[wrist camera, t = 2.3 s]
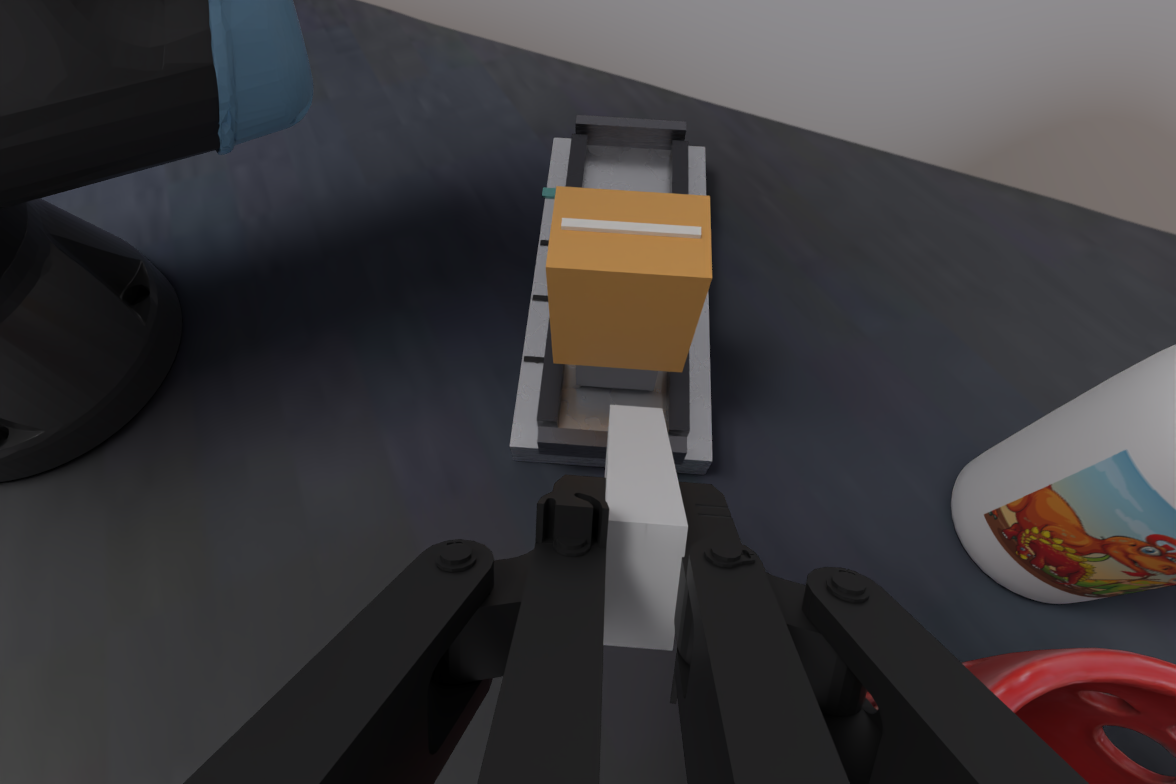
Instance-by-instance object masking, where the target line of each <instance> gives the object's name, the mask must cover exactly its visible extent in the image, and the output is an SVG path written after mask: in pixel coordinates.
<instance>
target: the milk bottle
mask: <svg viewBox="0 0 1176 784" xmlns="http://www.w3.org/2000/svg"><path fill="white" fill-rule="evenodd" d="M951 513H952V520H953V523H954V527H955V531H956V533H957V535H958V537H959V539H960V541H961V544H962V546H963V547H964V549H965V550H966V551H967V553H968V554H969V556H970V557H971V559H972V560H973V561H974V562H975V563H976V564H977V565H978V566H979V567H980V568H981V570H982V571H983V572H984V573H986V574H987V575H988V576H989V577H991V578H992V579H993V580H994V581H996V582H997V583H998V584H1000V585H1002V586H1004V587H1005V588H1007V589H1009V590H1010V591H1012V592H1014V593H1017V594H1019V595H1022V596H1024V597H1026V598H1029V599H1032V600H1035V601H1040V602H1044V603H1051V604H1068V603H1076V602H1083V601H1090V600H1095V599H1101V598H1107V597H1112V596H1118V595H1124V594H1129V593H1135V592H1140V591H1146V590H1151V589H1157V588H1162V587H1168V586H1173V585H1176V345H1173V346H1171V347H1169V348H1166V349H1164V350H1162V351H1160V352H1158V353H1156V354H1154V355H1152V356H1150V357H1148V358H1147V359H1145V360H1143V361H1141V362H1139V363H1137V364H1135V365H1133V366H1131V367H1130V368H1128V369H1126V370H1124V371H1122V372H1120V373H1118V374H1116V375H1115V376H1113V377H1111V378H1109V379H1108V380H1106V381H1104V382H1102V383H1101V384H1099V385H1097V386H1096V387H1094V388H1092V389H1090V390H1089V391H1087V392H1085V393H1083V394H1082V395H1080V396H1078V397H1077V398H1075V399H1073V400H1071V401H1070V402H1068V403H1066V404H1064V405H1063V406H1061V407H1059V408H1058V409H1056V410H1054V411H1052V412H1051V413H1049V414H1047V415H1046V416H1044V417H1042V418H1041V419H1039V420H1037V421H1036V422H1034V423H1032V424H1030V425H1029V426H1027V427H1025V428H1024V429H1022V430H1020V431H1019V432H1017V433H1015V434H1014V435H1012V436H1010V437H1009V438H1007V439H1005V440H1004V441H1002V442H1000V443H999V444H997V445H995V446H994V447H992V448H990V449H989V450H987V451H985V452H984V453H982V454H981V455H979V456H978V457H976V458H975V459H973V460H972V461H970V462H969V463H968V464H967V465H966V466H965V467H964V468H963V469H962V471H961V472H960V474H959V475H958V477H957V479H956V481H955V485H954V488H953V491H952V499H951Z"/></svg>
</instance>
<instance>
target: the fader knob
mask: <svg viewBox="0 0 1176 784" xmlns="http://www.w3.org/2000/svg"><path fill="white" fill-rule="evenodd" d="M546 278H547V291H548V303H549V316H550V328H551V341H552V353H553V363H555V364H569V365H576V385H579V386H593V387H607V388H621V389H635V390H649V391H654V387H655V383H656V379H657V375H658V371H668V372H682V371H683V368H684V365H685V362H686V359H687V355H688V352H689V349H690V346H691V343H692V340H693V337H694V334H695V330H696V327H697V324H698V321H699V318H700V315H701V312H702V308H703V305H704V302H705V299H706V296H707V293H708V290H709V287H710V283H711V280H712V253H711V216H710V196H704V195H689V194H673V193H657V192H641V191H626V190H610V189H594V188H579V187H563V186H556V193H555V200H554V208H553V215H552V223H551V230H550V238H549V245H548V253H547V260H546Z"/></svg>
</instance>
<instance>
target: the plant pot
mask: <svg viewBox="0 0 1176 784" xmlns="http://www.w3.org/2000/svg"><path fill="white" fill-rule="evenodd" d="M962 664H963V665H964V666H965V667H966V668H967V669H968V670H969V671H970V672H972V673H973V674H974V675H975V676H976V677H977V678H978V679H979V680H980V681H981V682H982V683H983V684H984V685H985V686H986V687H987V688H988V689H989V690H991V691H992V692H993V693H994V694H995V695H996V696H997V697H998V698H999V699H1000V700H1001V701H1002V702H1003V703H1004V704H1005V705H1006V706H1007V707H1009V708H1010V709H1011V710H1012V711H1013V712H1014V713H1015V714H1016V715H1017V716H1018V717H1019V718H1020V719H1021V720H1022V721H1023V722H1024V723H1025V724H1027V725H1028V726H1029V727H1030V728H1031V729H1032V730H1033V731H1034V732H1035V733H1036V734H1037V735H1038V736H1039V737H1040V738H1041V739H1042V740H1043V741H1044V742H1046V743H1047V744H1048V745H1049V746H1050V747H1051V748H1052V749H1053V750H1054V751H1055V752H1056V753H1057V754H1058V755H1059V756H1060V757H1061V758H1062V759H1064V760H1065V761H1066V762H1067V763H1068V764H1069V765H1070V766H1071V767H1072V768H1073V769H1074V770H1075V771H1076V772H1077V773H1078V774H1079V775H1080V776H1081V777H1083V778H1084V779H1085V780H1086V781H1087V782H1088V783H1089V784H1176V777H1171V776H1164V775H1160V774H1158V773H1155V772H1152V771H1149V770H1148V769H1146V768H1144V767H1142V766H1140V765H1139V764H1137V763H1136V762H1134V761H1133V760H1131V759H1130V758H1128V757H1127V756H1126V755H1125V754H1124V753H1123V752H1121V751H1120V750H1119V749H1118V748H1116V747H1115V746H1114V745H1113V744H1112V743H1111V741H1110V740H1109V739H1108V737H1107V736H1106V735H1105V733H1104V731H1103V728H1102V726H1105V725H1111V726H1120V727H1124V728H1129V729H1132V730H1135V731H1137V732H1139V733H1141V734H1144V735H1146V736H1148V737H1149V738H1151V739H1153V740H1154V741H1156V742H1157V743H1159V744H1161V745H1162V746H1163V747H1164V748H1165V749H1166V750H1167V751H1168V752H1170V753H1171V754H1172V755H1173V756H1174V757H1175V758H1176V665H1175V664H1173V663H1170V662H1167V661H1164V660H1160V659H1157V658H1154V657H1150V656H1145V655H1141V654H1137V653H1133V652H1128V651H1121V650H1112V649H1103V648H1069V649H1050V650H1035V651H1025V652H1016V653H1008V654H1002V655H997V656H991V657H986V658H981V659H977V660H972V661H967V662H962ZM1102 692H1103V693H1102ZM1106 693H1109V694H1112V695H1109V694H1106ZM1113 695H1114V696H1113ZM866 698H867V699H868V700H869V702H870V703H871V704H872V706H873V707H874V708H875V709H877V710H878V706H877V704H876V702H875V701H874V699H873V697H872V696H871V695H870V693H869V692H868V691H867V693H866Z"/></svg>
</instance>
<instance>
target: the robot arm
mask: <svg viewBox="0 0 1176 784" xmlns="http://www.w3.org/2000/svg"><path fill="white" fill-rule="evenodd" d="M312 98H313V79H312V74H311V69H310V65H309V60H308V56H307V52H306V48H305V44H304V40H303V36H302V32H301V28H300V25H299V21H298V17H297V14H296V10H295V6H294V3H293V0H0V482H4V481H10V480H15V479H20V478H24V477H28V476H32V475H35V474H38V473H42V472H44V471H47V470H50V469H52V468H55V467H57V466H60V465H62V464H64V463H67V462H69V461H71V460H73V459H75V458H77V457H79V456H80V455H82V454H84V453H86V452H88V451H89V450H91V449H93V448H94V447H96V446H97V445H99V444H101V443H102V442H103V441H105V440H106V439H108V438H109V437H110V436H112V435H113V434H114V433H116V432H117V431H118V430H120V429H121V428H122V427H123V426H124V425H125V424H127V423H128V422H129V421H130V420H131V419H132V418H133V417H134V416H135V415H136V414H137V413H138V412H139V411H140V410H141V409H142V408H143V407H144V406H145V405H146V403H147V402H148V401H149V400H150V399H151V397H152V396H153V395H154V394H155V392H156V391H157V389H158V388H159V387H160V385H161V384H162V382H163V380H164V379H165V377H166V375H167V374H168V372H169V370H170V368H171V366H172V364H173V361H174V359H175V356H176V354H177V350H178V347H179V344H180V339H181V332H182V312H181V307H180V303H179V300H178V297H177V294H176V292H175V290H174V288H173V287H172V285H171V284H170V282H169V281H168V280H167V279H166V277H165V276H164V275H163V274H162V273H161V272H160V271H159V270H158V269H157V268H156V267H155V266H154V265H153V264H152V263H151V262H150V261H149V260H148V259H147V258H146V257H145V256H144V255H143V254H142V253H140V252H139V251H138V250H137V249H135V248H134V247H133V246H131V245H130V244H128V243H127V242H126V241H124V240H122V239H120V238H119V237H117V236H115V235H113V234H111V233H109V232H107V231H105V230H103V229H101V228H99V227H97V226H95V225H93V224H91V223H89V222H87V221H84V220H82V219H80V218H78V217H76V216H74V215H72V214H70V213H68V212H66V211H64V210H62V209H60V208H58V207H56V206H54V205H52V204H50V203H48V202H46V201H44V200H42V199H40V198H43V197H46V196H50V195H53V194H57V193H61V192H64V191H68V190H72V189H75V188H79V187H83V186H86V185H90V184H94V183H97V182H101V181H104V180H108V179H112V178H115V177H119V176H123V175H126V174H130V173H134V172H137V171H141V170H144V169H148V168H152V167H155V166H159V165H163V164H166V163H170V162H174V161H177V160H181V159H184V158H188V157H192V156H195V155H199V154H203V153H206V152H210V151H214V150H216V151H217V153H218V154H219V155H224V154H227V153H229V152H231V151H232V149H233V148H234V146H235V145H237V144H240V143H243V142H246V141H249V140H252V139H255V138H259V137H262V136H265V135H268V134H271V133H274V132H277V131H280V130H283V129H286V128H289V127H291V126H293V125H295V124H296V123H298V122H299V121H300V120H301V119H302V118H303V117H304V116H305V115H306V113H307V111H308V110H309V107H310V105H311V103H312ZM675 633H676V641H677V653H676V661H675V669H674V676H673V684H672V692H671V700H670V703H674V704H676V701H677V698H678V706H679V715H680V723H681V732H682V740H683V749H684V757H685V766H686V774H687V783H688V784H1089V783H1088V782H1087V781H1086V780H1085V779H1084V778H1083V777H1081V776H1080V775H1079V774H1078V773H1077V772H1076V771H1075V770H1074V769H1073V768H1072V767H1071V766H1070V765H1069V764H1068V763H1067V762H1066V761H1065V760H1064V759H1062V758H1061V757H1060V756H1059V755H1058V754H1057V753H1056V752H1055V751H1054V750H1053V749H1052V748H1051V747H1050V746H1049V745H1048V744H1047V743H1046V742H1044V741H1043V740H1042V739H1041V738H1040V737H1039V736H1038V735H1037V734H1036V733H1035V732H1034V731H1033V730H1032V729H1031V728H1030V727H1029V726H1028V725H1027V724H1025V723H1024V722H1023V721H1022V720H1021V719H1020V718H1019V717H1018V716H1017V715H1016V714H1015V713H1014V712H1013V711H1012V710H1011V709H1010V708H1009V707H1007V706H1006V705H1005V704H1004V703H1003V702H1002V701H1001V700H1000V699H999V698H998V697H997V696H996V695H995V694H994V693H993V692H992V691H991V690H989V689H988V688H987V687H986V686H985V685H984V684H983V683H982V682H981V681H980V680H979V679H978V678H977V677H976V676H975V675H974V674H973V673H972V672H970V671H969V670H968V669H967V668H966V667H965V666H964V665H963V664H962V663H961V662H960V661H959V660H958V659H957V658H956V657H955V656H954V655H952V654H951V653H950V652H949V651H948V650H947V649H946V648H945V647H944V646H943V645H942V644H941V643H940V642H939V641H938V640H937V639H936V638H935V637H933V636H932V635H931V634H930V633H929V632H928V631H927V630H926V629H925V628H924V627H923V626H922V625H921V624H920V623H919V622H918V621H917V620H915V619H914V618H913V617H912V616H911V615H910V614H909V613H908V612H907V611H906V610H905V609H904V608H903V607H902V606H901V605H900V604H899V603H897V602H896V601H895V600H894V599H893V598H892V597H891V596H890V595H889V594H888V593H887V592H886V591H885V590H884V589H883V588H882V587H880V586H879V585H878V584H876V583H875V582H874V581H872V580H871V579H869V578H867V577H865V576H863V575H861V574H859V573H857V572H855V571H852V570H849V569H848V570H846V569H845V568H835V567H823V568H819V569H814V570H813V571H812V572H811V573H810V574H808V577H807V582H806V585H803V584H799V583H795V582H792V581H788V580H784V579H781V578H778V577H775V576H773V575H771V574H768V573H766V572H765V569H764V567H763V564H762V562H761V560H760V558H759V557H758V556H757V554H756V553H755V552H754V551H752V550H751V549H749V548H748V547H746V546H745V545H742V544H741V541H740V538H739V536H738V533H737V530H736V527H735V525H734V522H733V519H732V518H731V514H730V511H729V509H728V505H727V503H726V500H725V497H724V495H723V494H722V493H721V492H720V491H718V490H717V489H716V488H715V487H714V486H713V485H712V484H700V483H687V482H678V478H677V473H676V469H675V464H674V460H673V455H672V450H671V446H670V441H669V437H668V432H667V428H666V423H665V418H664V414H663V409H662V408H650V407H636V406H622V405H610V412H609V425H608V439H607V452H606V465H605V478H601V477H588V476H575V475H564V476H563V477H562V478H561V479H559V480H558V481H557V482H556V483H555V484H554V488H553V492H550V493H548V494H546V495H544V496H543V497H541V499H540V500H539V501H538V503H537V520H536V543H535V548H534V550H532V551H530V552H529V553H527V554H524V555H521V556H519V557H515V558H510V559H503V560H495V561H494V558H493V554H492V551H491V550H490V549H488V548H487V547H486V546H485V545H483V544H480V543H478V542H475V541H470V540H462V539H458V540H448V541H444V542H441V543H438V544H435V545H432V546H431V547H429V548H428V549H426V550H425V551H423V552H422V553H421V554H420V555H419V556H418V557H417V558H416V559H415V560H414V561H413V562H412V563H411V564H410V565H409V566H408V567H407V568H406V569H405V570H404V571H403V572H402V573H400V574H399V575H398V576H397V577H396V578H395V579H394V580H393V581H392V582H391V583H390V584H389V585H388V586H387V587H386V588H385V589H384V590H383V591H382V592H381V593H380V594H379V595H378V596H377V597H376V598H375V599H374V600H373V601H372V602H371V603H369V604H368V605H367V606H366V607H365V608H364V609H363V610H362V611H361V612H360V613H359V614H358V615H357V616H356V617H355V618H354V619H353V620H352V621H351V622H350V623H349V624H348V625H347V626H346V627H345V628H344V629H343V630H342V631H341V632H339V633H338V634H337V635H336V636H335V637H334V638H333V639H332V640H331V641H330V642H329V643H328V644H327V645H326V646H325V647H324V648H323V649H322V650H321V651H320V652H319V653H318V654H317V655H316V656H315V657H314V658H313V659H312V660H311V661H309V662H308V663H307V664H306V665H305V666H304V667H303V668H302V669H301V670H300V671H299V672H298V673H297V674H296V675H295V676H294V677H293V678H292V679H291V680H290V681H289V682H288V683H287V684H286V685H285V686H284V687H283V688H282V689H281V690H280V691H278V692H277V693H276V694H275V695H274V696H273V697H272V698H271V699H270V700H269V701H268V702H267V703H266V704H265V705H264V706H263V707H262V708H261V709H260V710H259V711H258V712H257V713H256V714H255V715H254V716H253V717H252V718H251V719H250V720H248V721H247V722H246V723H245V724H244V725H243V726H242V727H241V728H240V729H239V730H238V731H237V732H236V733H235V734H234V735H233V736H232V737H231V738H230V739H229V740H228V741H227V742H226V743H225V744H224V745H223V746H222V747H221V748H220V749H219V750H217V751H216V752H215V753H214V754H213V755H212V756H211V757H210V758H209V759H208V760H207V761H206V762H205V763H204V764H203V765H202V766H201V767H200V768H199V769H198V770H197V771H196V772H195V773H194V774H193V775H192V776H191V777H190V778H189V779H187V780H186V781H185V782H184V783H183V784H434V782H435V780H436V779H437V777H438V775H439V774H440V772H441V770H442V769H443V767H444V765H445V764H446V762H447V760H448V759H449V757H450V755H451V753H452V752H453V750H454V748H455V747H456V745H457V743H458V742H459V740H460V738H461V737H462V735H463V733H464V731H465V730H466V728H467V726H468V725H469V723H470V721H471V720H472V718H473V716H474V715H475V713H476V711H477V710H478V708H479V706H480V704H481V703H482V701H483V699H484V698H485V696H486V694H487V693H488V691H489V688H490V685H491V682H492V678H495V677H501V676H503V680H502V684H501V688H500V693H499V697H498V701H497V705H496V709H495V713H494V717H493V722H492V726H491V730H490V734H489V738H488V742H487V746H486V750H485V755H484V759H483V763H482V767H481V771H480V775H479V779H478V784H599V772H600V739H601V706H602V673H603V645H610V646H622V647H634V648H646V649H657V650H669V651H673V643H674V635H675ZM867 691H868V692H869V693H870V695H871V696H872V697H873V699H874V701H875V702H876V704H877V706H878V710H877V709H875V708H874V707H873V706H872V704H871V703H870V702H869V700H868V699H867V698H866V693H867Z"/></svg>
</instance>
